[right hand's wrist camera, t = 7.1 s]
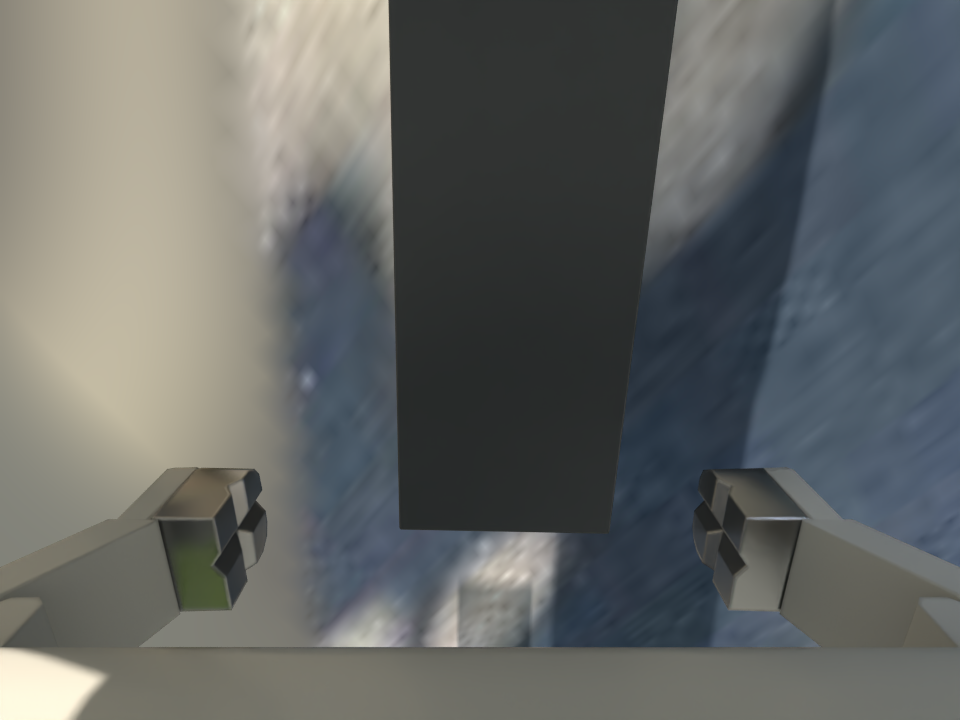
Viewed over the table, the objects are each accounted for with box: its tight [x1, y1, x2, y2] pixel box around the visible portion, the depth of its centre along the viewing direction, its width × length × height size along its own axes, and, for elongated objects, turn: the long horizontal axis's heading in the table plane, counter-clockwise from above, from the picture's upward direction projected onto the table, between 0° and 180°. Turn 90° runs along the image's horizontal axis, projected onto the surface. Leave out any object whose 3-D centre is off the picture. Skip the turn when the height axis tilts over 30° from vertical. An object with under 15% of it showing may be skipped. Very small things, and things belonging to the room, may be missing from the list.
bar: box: [389, 0, 678, 534], centre depth 13 cm, size 23×5×9 cm, turn 178°
